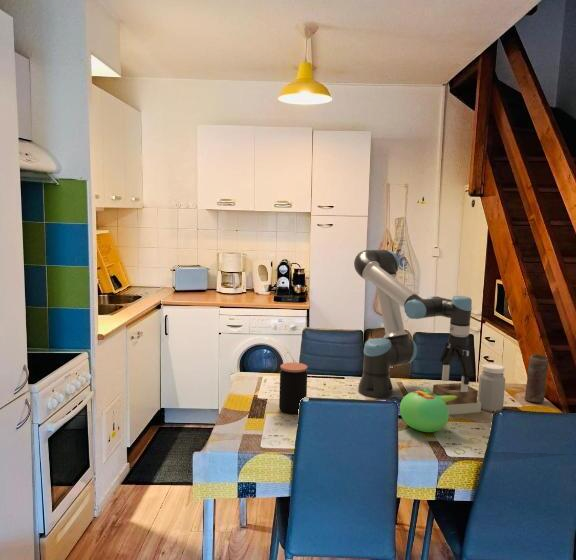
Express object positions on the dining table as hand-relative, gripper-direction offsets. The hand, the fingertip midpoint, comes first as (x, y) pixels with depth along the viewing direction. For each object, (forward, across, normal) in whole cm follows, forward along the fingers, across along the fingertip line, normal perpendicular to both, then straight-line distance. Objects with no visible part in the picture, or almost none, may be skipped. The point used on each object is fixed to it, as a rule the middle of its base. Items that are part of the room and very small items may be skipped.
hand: (454, 385), depth 203 cm
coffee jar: (+11, -9, -65) cm, 67 cm away
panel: (+10, +1, 0) cm, 10 cm away
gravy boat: (+10, +17, -22) cm, 29 cm away
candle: (+10, -1, +41) cm, 42 cm away
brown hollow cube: (+6, +1, 0) cm, 6 cm away
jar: (+10, +3, +16) cm, 19 cm away
